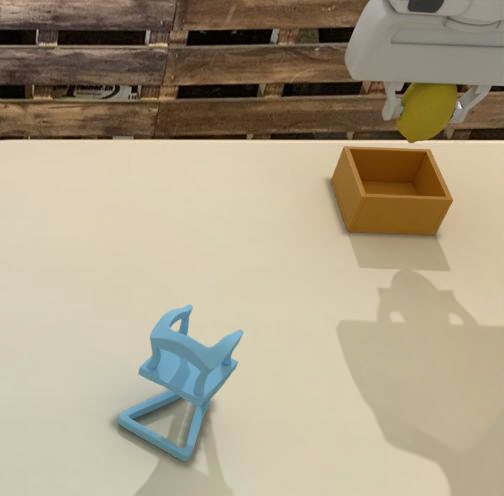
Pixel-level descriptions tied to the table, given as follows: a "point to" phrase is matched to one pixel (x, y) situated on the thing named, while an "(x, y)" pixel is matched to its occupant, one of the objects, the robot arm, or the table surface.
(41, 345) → the table surface
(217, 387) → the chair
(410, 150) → the ochre bin
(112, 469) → the table surface
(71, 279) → the table surface
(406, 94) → the lemon
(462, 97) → the robot arm
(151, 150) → the table surface
